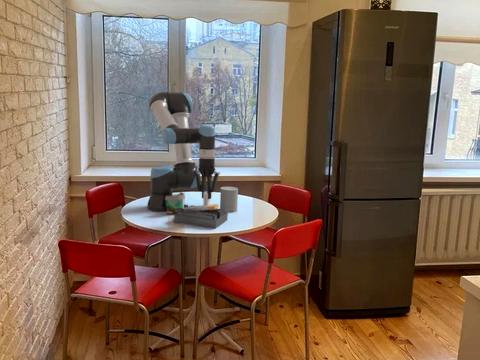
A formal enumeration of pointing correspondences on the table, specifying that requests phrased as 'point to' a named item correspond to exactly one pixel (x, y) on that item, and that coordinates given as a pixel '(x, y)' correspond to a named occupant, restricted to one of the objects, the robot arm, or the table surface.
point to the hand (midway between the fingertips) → (206, 205)
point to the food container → (174, 203)
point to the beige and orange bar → (200, 208)
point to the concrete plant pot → (229, 199)
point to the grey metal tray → (201, 217)
